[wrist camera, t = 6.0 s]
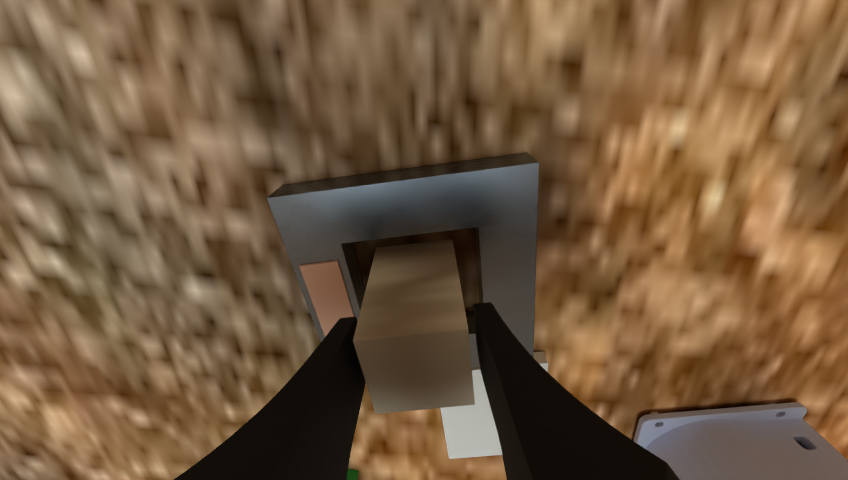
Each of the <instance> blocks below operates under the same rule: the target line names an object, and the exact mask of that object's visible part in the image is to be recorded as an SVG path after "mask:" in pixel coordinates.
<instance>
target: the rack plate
mask: <svg viewBox="0 0 848 480" xmlns="http://www.w3.org/2000/svg"><path fill="white" fill-rule="evenodd" d="M538 174H539V162H538V161H536V160H535V159H534V158H533V157H532V156H530V155H529V154H528V153H521V154H513V155H506V156H498V157H491V158H483V159H476V160H468V161H461V162H453V163H446V164H438V165H431V166H423V167H415V168H408V169H400V170H393V171H385V172H378V173H370V174H363V175H355V176H348V177H340V178H333V179H325V180H318V181H310V182H302V183H295V184H287V185H282V186H281V187H279V188H278V189H277V190H276V191H275V192H273V193H272V194H271V195H270V196H269V197H268V198H267V200H268V202H269V205H270V208H271V210H272V213H273V216H274V218H275V221H276V224H277V226H278V229H279V232H280V234H281V237H282V240H283V242H284V245H285V248H286V250H287V253H288V255H289V258H290V261H291V263H292V266H293V269H294V271H295V274H296V277H297V279H298V282H299V285H300V287H301V290H302V293H303V295H304V298H305V301H306V303H307V306H308V309H309V311H310V314H311V316H312V319H313V322H314V324H315V327H316V330H317V332H318V335H319V338H320V340H321V342H322V341H323V339H324V338H325V337H326V335H327V334H328V333H329V331H330V330H331V329H332V328H333V326H334V325H335V324H336V322H337V321H338V320H339V319H340V318H346V317H356V318H357V321H358V319H359V315H360V311H361V306H362V302H363V298H364V294H365V288H364V284H363V280H362V276H361V273H360V269H359V265H358V261H357V258H356V254H355V250H354V246H353V243H352V242H359V241H367V240H376V239H384V238H392V237H401V236H409V235H417V234H426V233H434V232H442V231H450V230H459V229H467V228H475V240H476V255H477V269H478V284H479V298H480V303H487V302H491V303H492V304H493V305H494V307H495V309H496V310H497V312H498V313H499V315H500V316H501V318H502V319H503V321H504V322H505V324H506V325H507V326H508V328H509V329H510V330H511V332H512V333H513V334H514V335H515V337H516V338H517V339H518V340H519V342H520V343H521V344H522V345H523V346H524V348H525V349H526V350H527V351H528V352H529V353H530V354H531V356H532V357H533V349H534V314H535V279H536V244H537V209H538ZM466 319H467V325H468V331H469V343H470V354H471V365H472V368H475V367H480V364H479V358H478V352H477V346H476V333H475V321H474V312H470V313H466Z"/></svg>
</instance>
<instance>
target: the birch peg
mask: <svg viewBox="0 0 848 480" xmlns="http://www.w3.org/2000/svg"><path fill="white" fill-rule="evenodd" d="M353 343H354V346H355V349H356V352H357V355H358V359H359V362H360V365H361V368H362V371H363V375H364V378H365V381H366V384H367V387H368V391H369V394H370V397H371V400H372V403H373V407H374V410H375V413H388V412H399V411H410V410H421V409H433V408H444V407H455V406H466V405H475V399H474V388H473V377H472V365H471V354H470V343H469V331H468V325H467V319H466V313H465V307H464V302H463V296H462V290H461V285H460V279H459V273H458V268H457V262H456V256H455V251H454V245H453V239H449V240H440V241H431V242H423V243H414V244H405V245H397V246H388V247H379V248H376V250H375V254H374V258H373V262H372V266H371V270H370V274H369V278H368V282H367V286H366V290H365V294H364V298H363V302H362V306H361V311H360V315H359V319H358V323H357V327H356V331H355V335H354V339H353Z"/></svg>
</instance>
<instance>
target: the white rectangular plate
mask: <svg viewBox="0 0 848 480" xmlns="http://www.w3.org/2000/svg"><path fill="white" fill-rule="evenodd" d="M533 358H534V359H535V360H536V361H537V362H538V363H539V364H540V365H541V366H542V367H543V368H544V369H545V370H546V371H547V372H548V362H547V359H546V357H545V354H544V352H543V351H542V352H533ZM472 377H473V388H474V399H475V405H466V406H455V407H444V408H440V409H441V414H442V420H443V426H444V432H445V438H446V444H447V449H448V455H449V459H453V458H466V457H479V456H491V455H502V450H501V445H500V441H499V437H498V433H497V429H496V425H495V422H494V418H493V415H492V411H491V407H490V404H489V400H488V396H487V393H486V389H485V385H484V382H483V378H482V374H481V370H480V367H475V368H472Z"/></svg>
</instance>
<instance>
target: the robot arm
mask: <svg viewBox="0 0 848 480" xmlns="http://www.w3.org/2000/svg"><path fill="white" fill-rule="evenodd" d="M473 309H474V321H475V333H476V346H477V352H478V358H479V364H480V370H481V374H482V378H483V382H484V385H485V389H486V393H487V396H488V400H489V404H490V407H491V411H492V415H493V418H494V422H495V425H496V429H497V433H498V437H499V441H500V445H501V450H502V455H503V461H504V466H505V471H506V477H507V480H848V460H847V459H846V458H845V457H844V456H842V455H841V454H840V453H839V452H838V451H837V450H836V449H835V448H834V447H833V446H832V445H831V444H830V443H828V442H827V441H826V440H825V439H824V438H823V437H822V436H821V435H820V434H819V433H818V432H817V431H816V430H815V429H813V428H812V427H811V426H810V425H809V424H808V423H807V422H806V421H805V420H804V419H803V417H804V416H805V414H806V412H807V408H806V407H805V406H803V405H802V404H801V403H799V402H791V403H779V404H767V405H755V406H743V407H731V408H719V409H707V410H696V411H684V412H672V413H660V414H648V415H644V416H642V417H641V418H640V419H639V422H638V426H637V430H636V433H635V437H634V441H632V440H631V439H629V438H628V437H626V436H625V435H624V434H622V433H621V432H619V431H618V430H617V429H615V428H614V427H612V426H611V425H610V424H608V423H607V422H605V421H604V420H603V419H602V418H600V417H599V416H598V415H597V414H595V413H594V412H593V411H591V410H590V409H589V408H588V407H586V406H585V405H584V404H583V403H581V402H580V401H579V400H578V399H576V398H575V397H574V396H573V395H572V394H571V393H569V392H568V391H567V390H566V389H565V388H564V387H563V386H561V385H560V384H559V383H558V382H557V381H556V380H555V379H554V378H553V377H552V376H551V375H550V374H549V373H548V372H547V371H546V370H545V369H544V368H543V367H542V366H541V365H540V364H539V363H538V362H537V361H536V360H535V359H534V358H533V357H532V356H531V354H530V353H529V352H528V351H527V350H526V349H525V348H524V346H523V345H522V344H521V343H520V342H519V340H518V339H517V338H516V337H515V335H514V334H513V333H512V332H511V330H510V329H509V328H508V326H507V325H506V324H505V322H504V321H503V319H502V318H501V316H500V315H499V313H498V312H497V310H496V309H495V307H494V305H493V304H492V303H491V302H487V303H478V304H473ZM357 323H358V321H357V318H356V317H346V318H340V319H339V320H338V321H337V322H336V324H335V325H334V326H333V328H332V329H331V330H330V331H329V333H328V334H327V335H326V337H325V338H324V339H323V341H322V342H321V343H320V344H319V346H318V347H317V348H316V350H315V351H314V352H313V353H312V354H311V356H310V357H309V358H308V359H307V361H306V362H305V363H304V364H303V366H302V367H301V368H300V369H299V370H298V371H297V372H296V374H295V375H294V376H293V377H292V378H291V379H290V380H289V382H288V383H287V384H286V385H285V386H284V387H283V388H282V389H281V390H280V391H279V392H278V393H277V394H276V395H275V397H274V398H272V399H271V400H270V401H269V402H268V403H267V404H266V405H265V406H264V407H263V408H262V409H261V410H260V411H259V412H258V413H257V414H256V415H255V416H254V417H252V418H251V419H250V420H249V421H248V422H247V423H246V424H244V425H243V426H242V427H241V428H240V429H239V430H238V431H236V432H235V433H234V434H233V435H232V436H231V437H230V438H228V439H227V440H226V441H225V442H223V443H222V444H221V445H220V446H218V447H217V448H216V449H215V450H213V451H212V452H211V453H210V454H208V455H207V456H206V457H204V458H203V459H202V460H200V461H199V462H198V463H196V464H195V465H194V466H192V467H191V468H190V469H188V470H187V471H186V472H184V473H183V474H181V475H180V476H178V477H177V478H175V479H174V480H347V473H348V465H349V458H350V452H351V447H352V442H353V437H354V433H355V428H356V424H357V419H358V415H359V410H360V406H361V401H362V397H363V392H364V387H365V378H364V375H363V371H362V368H361V365H360V362H359V359H358V355H357V352H356V349H355V346H354V343H353V339H354V335H355V331H356V327H357Z"/></svg>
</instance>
